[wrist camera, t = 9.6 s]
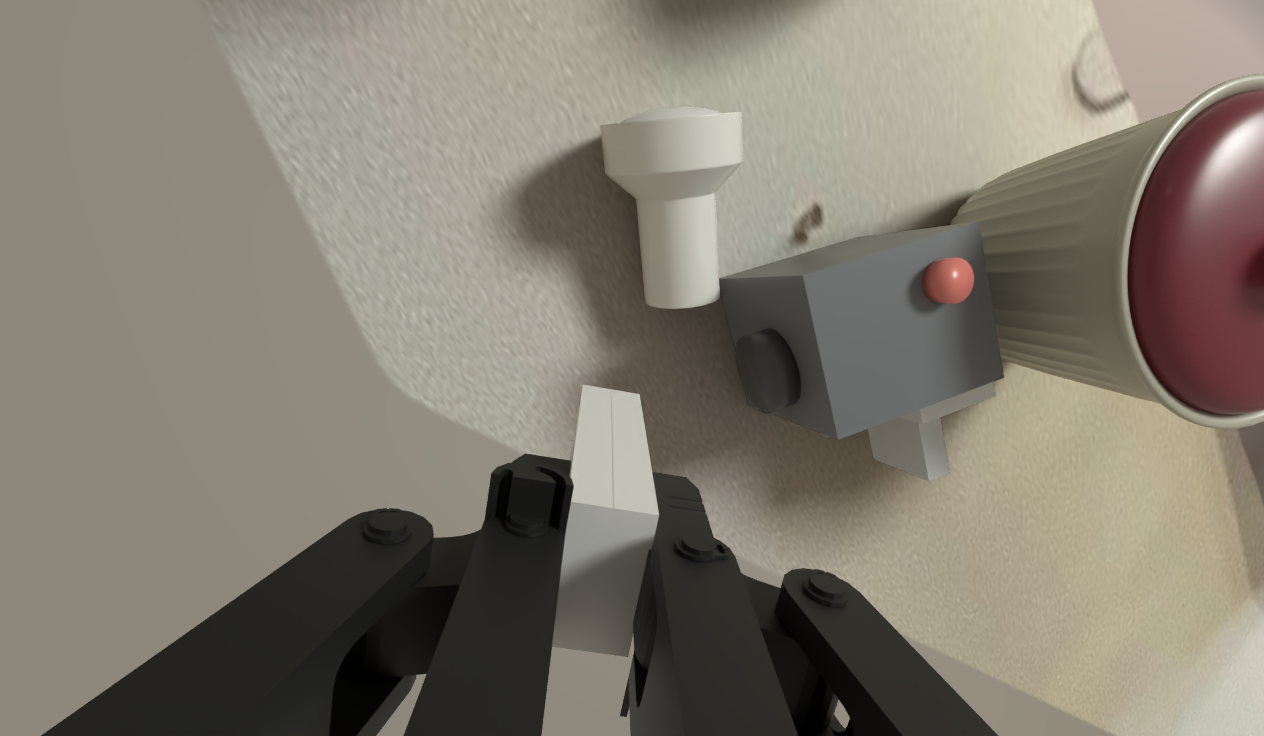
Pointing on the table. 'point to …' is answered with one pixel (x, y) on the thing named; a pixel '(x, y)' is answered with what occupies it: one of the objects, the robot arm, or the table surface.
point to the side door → (922, 436)
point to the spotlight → (675, 195)
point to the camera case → (865, 328)
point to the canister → (1140, 259)
